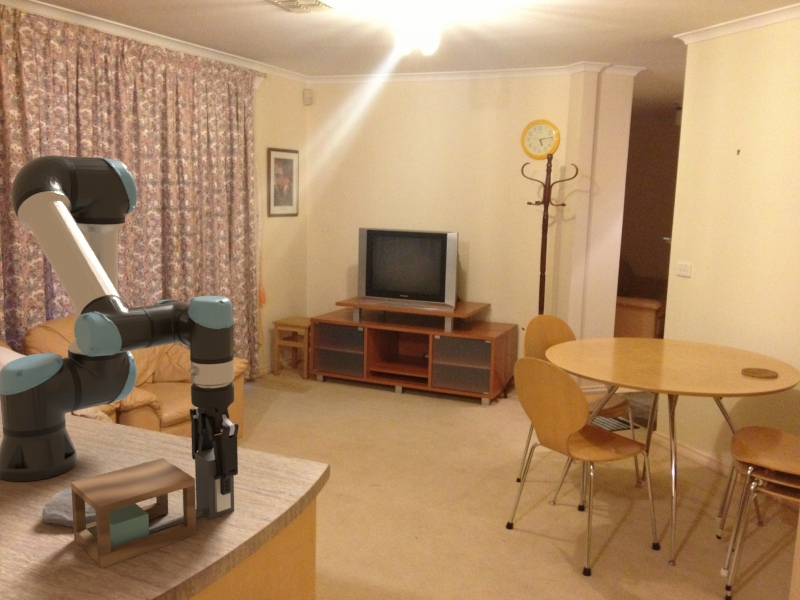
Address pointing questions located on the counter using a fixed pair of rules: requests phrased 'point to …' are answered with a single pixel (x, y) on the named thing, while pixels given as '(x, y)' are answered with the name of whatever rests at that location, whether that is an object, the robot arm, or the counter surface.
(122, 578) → the counter surface
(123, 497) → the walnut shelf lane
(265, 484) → the counter surface
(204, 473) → the tethered block
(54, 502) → the stone block
